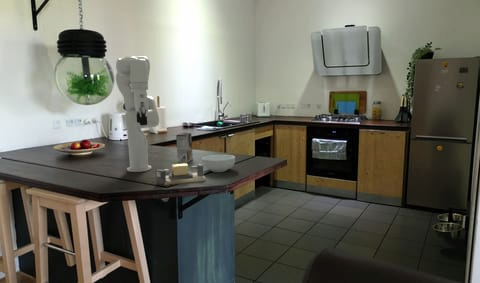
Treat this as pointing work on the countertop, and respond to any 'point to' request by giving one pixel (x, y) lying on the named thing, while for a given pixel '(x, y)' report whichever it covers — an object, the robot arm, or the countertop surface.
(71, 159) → the countertop surface
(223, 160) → the cereal bowl
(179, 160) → the coffee box
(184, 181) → the shaft bench
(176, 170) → the coupler
